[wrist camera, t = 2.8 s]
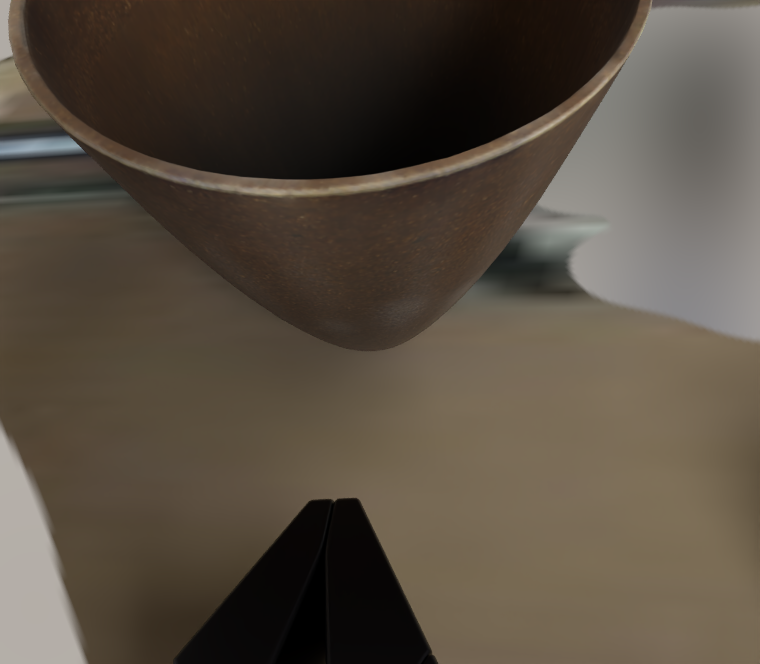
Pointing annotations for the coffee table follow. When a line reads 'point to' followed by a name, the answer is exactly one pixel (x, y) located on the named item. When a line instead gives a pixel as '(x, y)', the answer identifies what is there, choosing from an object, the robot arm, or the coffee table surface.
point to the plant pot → (330, 134)
